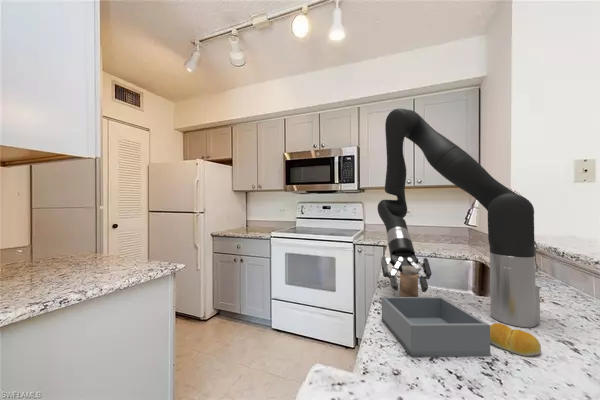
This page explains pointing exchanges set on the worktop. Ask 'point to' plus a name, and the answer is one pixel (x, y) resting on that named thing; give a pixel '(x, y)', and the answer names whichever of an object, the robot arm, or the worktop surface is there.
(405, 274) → the pepper mill
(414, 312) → the bin
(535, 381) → the worktop surface
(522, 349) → the bread roll
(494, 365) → the worktop surface
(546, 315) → the worktop surface
